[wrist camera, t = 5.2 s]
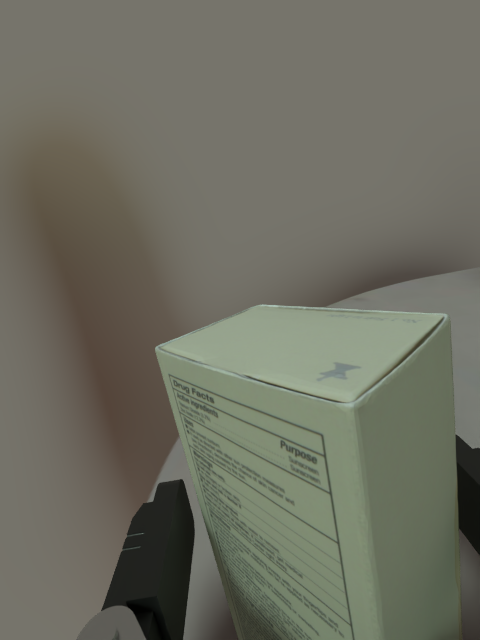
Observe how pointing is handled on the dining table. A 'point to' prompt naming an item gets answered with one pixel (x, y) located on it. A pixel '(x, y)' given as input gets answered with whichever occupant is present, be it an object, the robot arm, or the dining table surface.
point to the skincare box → (325, 469)
